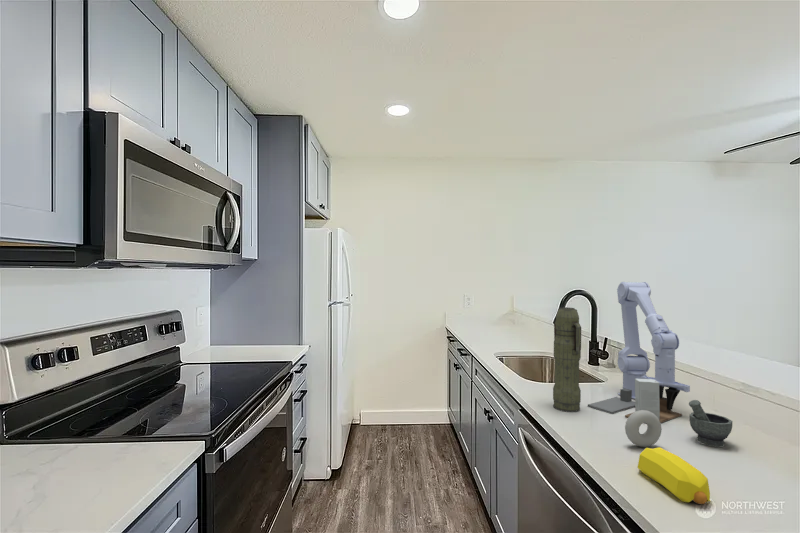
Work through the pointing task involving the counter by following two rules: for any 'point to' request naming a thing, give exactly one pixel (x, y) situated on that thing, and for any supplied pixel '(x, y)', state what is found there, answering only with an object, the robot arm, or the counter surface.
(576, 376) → the thermos
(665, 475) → the yellow banana
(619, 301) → the robot arm
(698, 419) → the mortar and pestle
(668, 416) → the walnut strip
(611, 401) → the charcoal strip
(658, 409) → the skincare box
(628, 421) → the donut
